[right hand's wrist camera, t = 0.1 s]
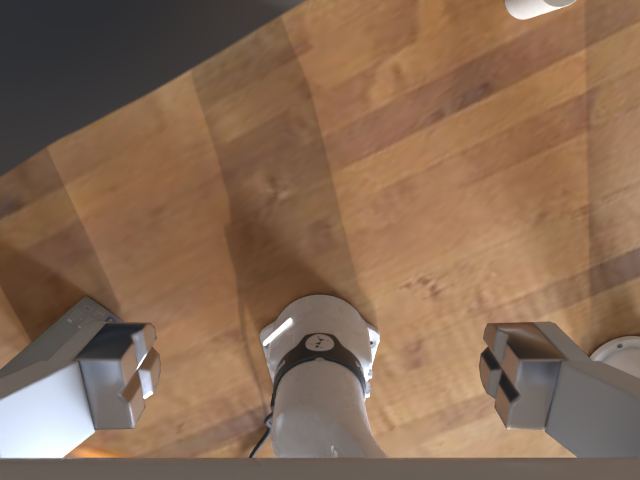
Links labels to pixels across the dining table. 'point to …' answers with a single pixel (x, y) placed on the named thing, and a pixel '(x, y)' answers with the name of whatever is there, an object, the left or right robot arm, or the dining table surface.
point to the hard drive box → (59, 334)
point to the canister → (533, 7)
